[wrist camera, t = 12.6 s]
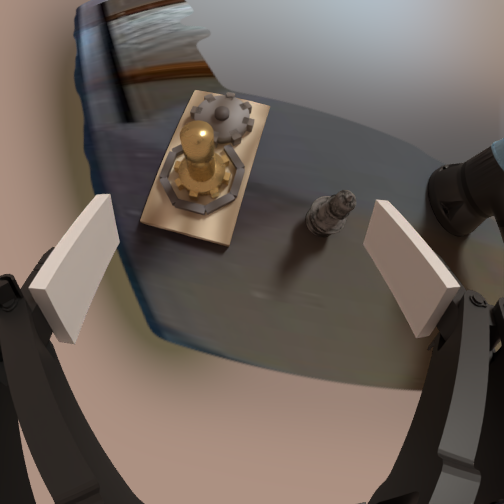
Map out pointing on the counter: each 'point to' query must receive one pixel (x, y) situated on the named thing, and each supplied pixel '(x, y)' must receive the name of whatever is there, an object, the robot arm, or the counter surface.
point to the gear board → (240, 163)
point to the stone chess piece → (330, 213)
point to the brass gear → (200, 162)
